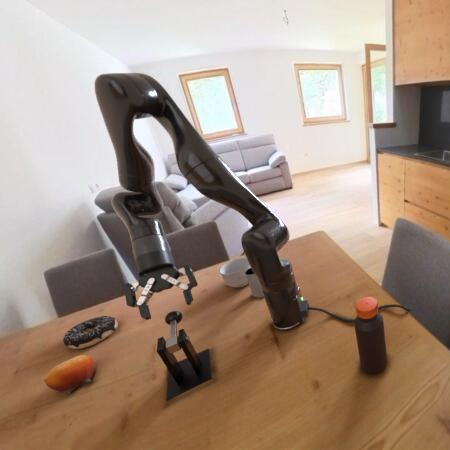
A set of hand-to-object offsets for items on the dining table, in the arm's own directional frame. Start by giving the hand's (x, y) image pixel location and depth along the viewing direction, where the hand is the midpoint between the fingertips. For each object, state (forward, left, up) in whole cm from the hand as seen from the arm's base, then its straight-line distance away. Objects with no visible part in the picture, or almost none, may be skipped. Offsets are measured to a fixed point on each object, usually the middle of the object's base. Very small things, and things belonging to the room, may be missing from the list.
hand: (169, 311), depth 71 cm
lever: (-2, +4, -5) cm, 6 cm away
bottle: (-50, +17, -14) cm, 55 cm away
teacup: (-6, -31, -14) cm, 35 cm away
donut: (+32, -13, -14) cm, 38 cm away
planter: (-14, -20, -14) cm, 28 cm away
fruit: (+24, +4, -14) cm, 28 cm away
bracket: (-4, +9, -14) cm, 17 cm away
